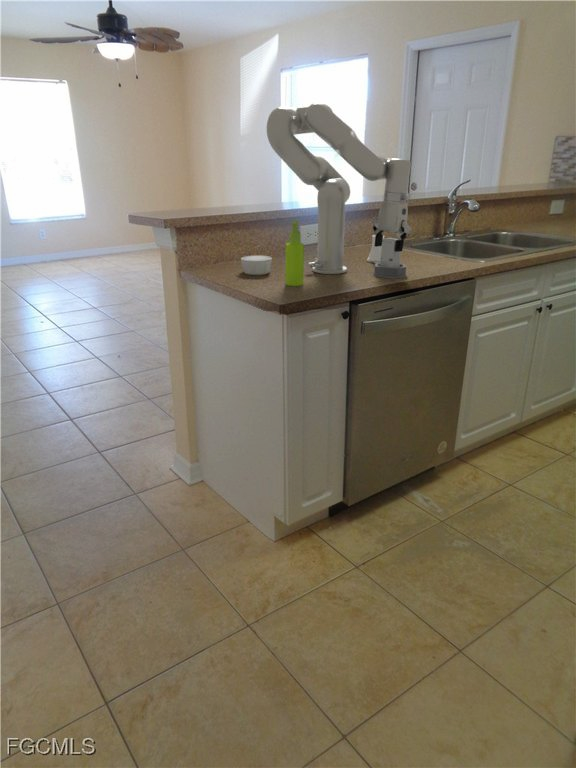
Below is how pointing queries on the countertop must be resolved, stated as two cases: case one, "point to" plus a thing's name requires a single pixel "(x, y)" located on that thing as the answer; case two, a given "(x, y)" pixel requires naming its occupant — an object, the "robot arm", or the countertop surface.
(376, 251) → the salt shaker
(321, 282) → the countertop surface
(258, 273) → the ramekin
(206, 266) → the countertop surface
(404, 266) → the cap collar
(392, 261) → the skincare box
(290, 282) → the soap dispenser
